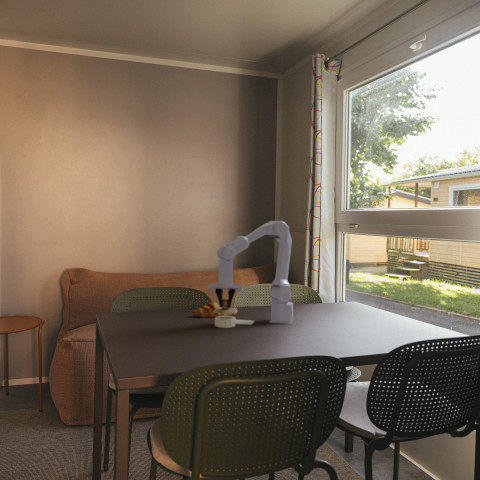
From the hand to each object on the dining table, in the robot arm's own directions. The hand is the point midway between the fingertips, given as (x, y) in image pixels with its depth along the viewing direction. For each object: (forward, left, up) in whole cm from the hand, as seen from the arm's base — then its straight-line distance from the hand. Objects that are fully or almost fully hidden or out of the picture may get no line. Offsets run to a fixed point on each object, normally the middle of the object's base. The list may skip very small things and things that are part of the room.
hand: (225, 307), depth 187 cm
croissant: (+9, -19, -8) cm, 22 cm away
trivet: (-6, -8, -8) cm, 13 cm away
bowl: (0, 0, -8) cm, 8 cm away
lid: (0, 0, -2) cm, 2 cm away
